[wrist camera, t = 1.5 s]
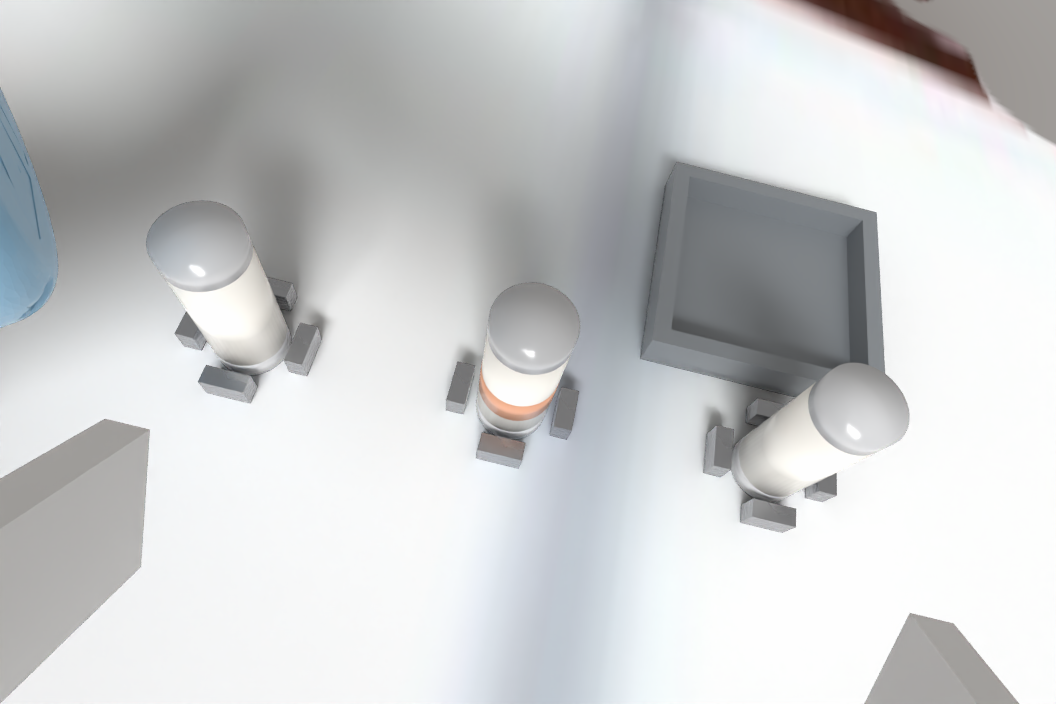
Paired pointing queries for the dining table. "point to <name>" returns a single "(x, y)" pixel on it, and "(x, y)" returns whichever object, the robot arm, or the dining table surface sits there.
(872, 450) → the plain fuse
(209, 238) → the plain fuse
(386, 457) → the dining table surface
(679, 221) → the charcoal tray
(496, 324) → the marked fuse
